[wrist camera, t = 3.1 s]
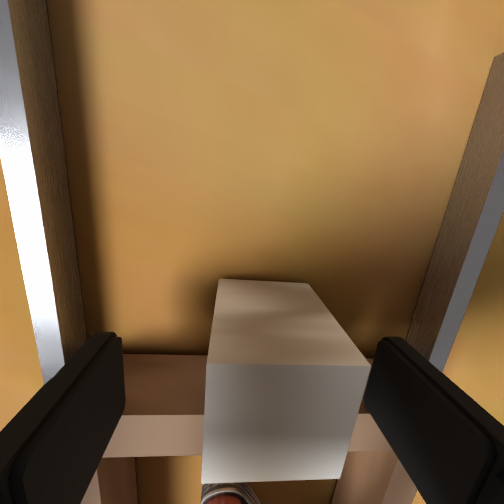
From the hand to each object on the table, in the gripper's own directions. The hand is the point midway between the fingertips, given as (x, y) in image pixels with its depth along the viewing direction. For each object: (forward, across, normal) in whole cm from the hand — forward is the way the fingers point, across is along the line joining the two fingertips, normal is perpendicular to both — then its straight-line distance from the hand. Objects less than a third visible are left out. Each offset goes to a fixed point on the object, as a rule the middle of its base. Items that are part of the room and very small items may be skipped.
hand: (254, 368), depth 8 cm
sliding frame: (+3, 0, +9) cm, 10 cm away
